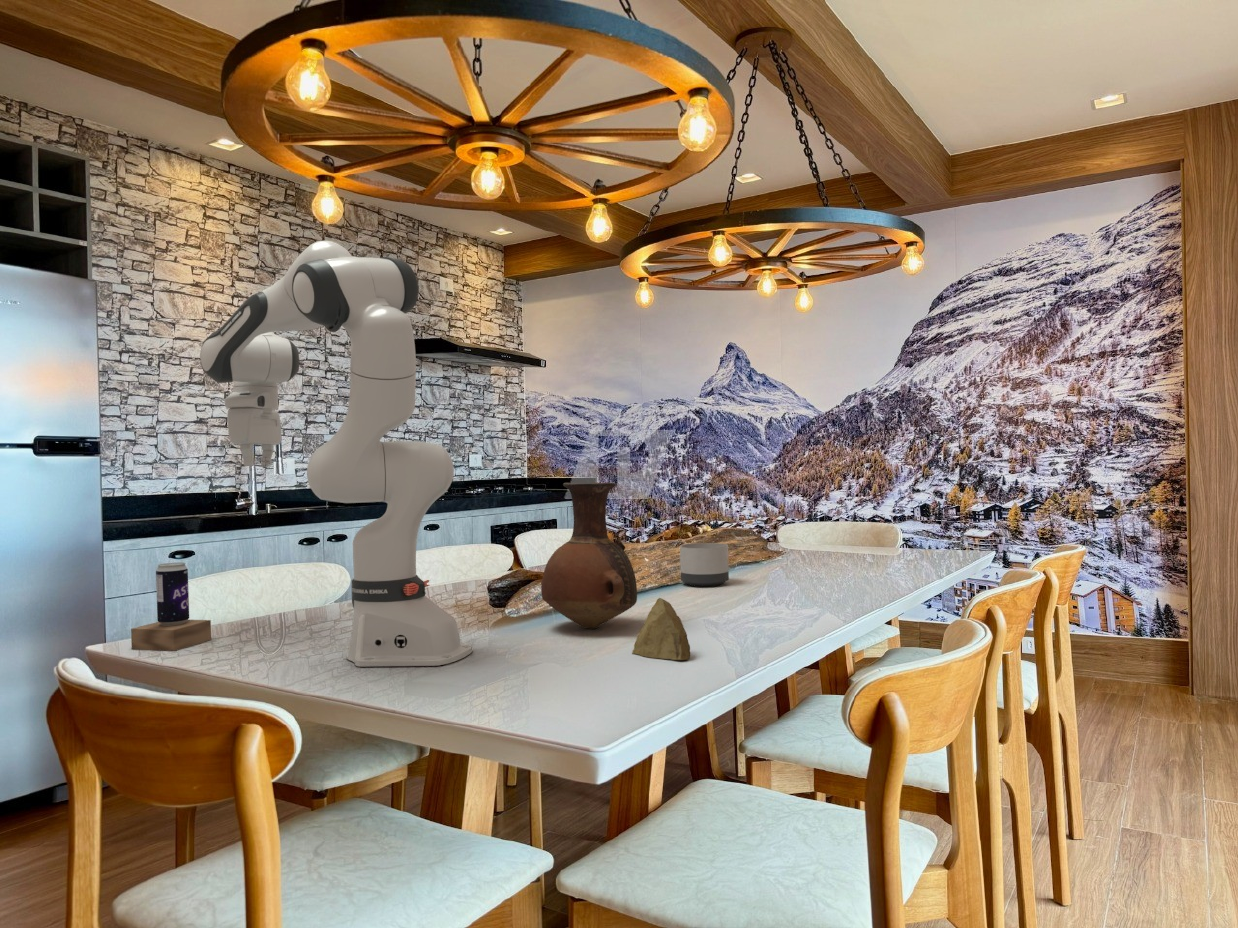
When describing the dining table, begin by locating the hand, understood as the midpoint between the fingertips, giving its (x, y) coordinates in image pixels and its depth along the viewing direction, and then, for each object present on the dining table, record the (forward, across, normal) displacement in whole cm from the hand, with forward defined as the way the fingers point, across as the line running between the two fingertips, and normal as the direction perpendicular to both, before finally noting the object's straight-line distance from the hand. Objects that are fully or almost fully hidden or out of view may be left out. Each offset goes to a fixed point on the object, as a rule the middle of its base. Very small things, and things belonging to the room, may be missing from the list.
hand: (257, 465), depth 187 cm
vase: (+35, +9, +70) cm, 79 cm away
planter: (+35, -44, +101) cm, 116 cm away
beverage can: (+31, +12, -13) cm, 36 cm away
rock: (+35, +37, +83) cm, 97 cm away
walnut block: (+35, +13, -13) cm, 40 cm away
